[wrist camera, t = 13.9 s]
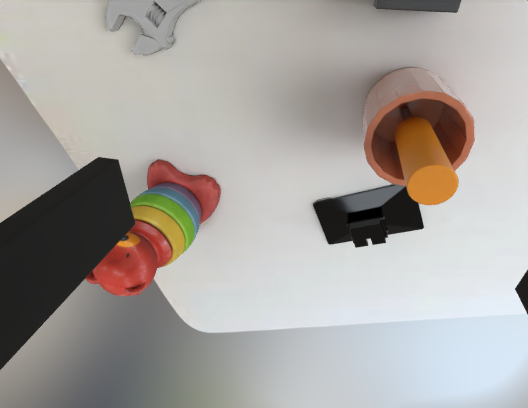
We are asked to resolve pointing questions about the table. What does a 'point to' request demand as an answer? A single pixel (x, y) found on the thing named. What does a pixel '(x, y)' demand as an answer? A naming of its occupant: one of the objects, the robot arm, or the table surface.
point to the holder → (419, 5)
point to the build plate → (368, 215)
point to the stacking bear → (157, 228)
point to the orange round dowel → (424, 161)
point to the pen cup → (421, 105)
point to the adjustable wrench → (148, 21)
